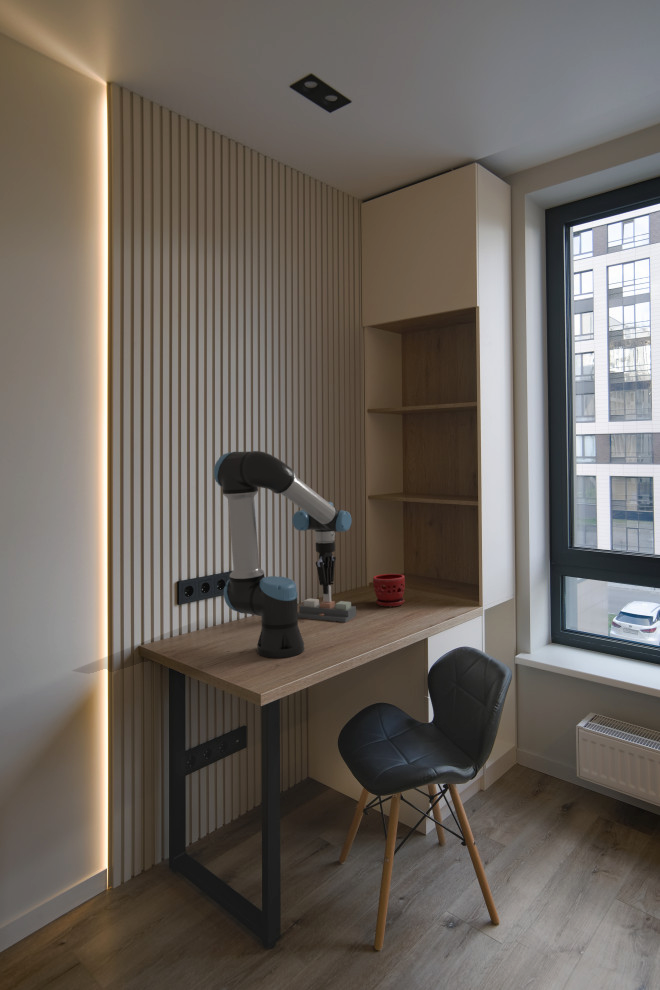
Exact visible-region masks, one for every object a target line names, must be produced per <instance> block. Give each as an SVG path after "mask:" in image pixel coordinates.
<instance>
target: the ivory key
mask: <svg viewBox="0 0 660 990" xmlns="http://www.w3.org/2000/svg"><path fill="white" fill-rule="evenodd" d="M319 603H320V600H319V598H318V599H317V598H307V599H305V600H303V604H304V606H308V607H316V606H318V605H319Z"/></svg>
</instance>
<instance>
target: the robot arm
mask: <svg viewBox="0 0 660 990" xmlns="http://www.w3.org/2000/svg"><path fill="white" fill-rule="evenodd" d="M213 477H214V480H215V482H216V483H217V485H218V486H219V487H221V489H222V495H223V496H224V497H225V498H227V503H228V516H229V517H228V518H229V528H230V542H231V543H230V544H231V553H232V554H231V555H232V564H233V570H232V571H231V572H230V573H229V579H228V580H227V581H226V582H225V584H226V585H225V586H224V588H223V598H224V602H225V603H226V605H227V606H228V608H229V609H230V610H232V611H235V612H238V613H240V614H247V615H253V616H257V617H258V616H260V617H261V630H260V632H259V633H260V634H259V637H258V641H257V645H256V651H257V652H256V653H257V654H258V655H260V656H262V657H264V658H271V659H274V658H275V659H281V658H282V659H283V658H290V657H295V656H298V655H300V654H301V653H303V652H305V642H304V639H303V637H302V633H301V631H300V628H299V624H298V621H299V618H298V613H299V611H298V591H297V584H296V582H295V581H294V580H292V579H291V578H289V577H285V576H275V575H273V576H272V575H271V576H266V577H265V571H264V570H263V569H262V568H261V567H260V560H259V546H258V534H257V533H258V532H257V520H256V518H257V517H256V508H255V507H256V505H255V497H256V495H257V494H258V492H259V488H261V489H266V490H268V491H269V490H270V491H271V492H273V493H274V494H277V495H279V494H281V495H282V496H283V497H285V498H286V499H288V500H289V501H290V502H291V503H293V504H295V506H297V507H298V508H300V509H301V510H299V511H295V512H294V514H293V515H292V517H291V518H292V519H291V521H292V526H293V527H294V529H295V530H297V531H300V532H303V531H304V532H306V531H309V530H310V531H315V532H314V537H315V539H314V540H315V542H316V543H315V551H316V553H317V554H318V561H315V565H316V569H317V576H318V581H319V582H318V583H319V585H320V586H322V596H323V597H322V600H323V601H322V602H331V601H332V586H331V585H334V580H335V565H336V564H335V563H336V559H337V558H336V556H334V555H333V553H334V552H335V551H336V542H335V536H336V533H335V532H338V533H339V532H340V533H341V532H347V531H349V530H350V528H351V525H352V516H351V513H350V512H349V511H346V510H343V509H341V510H338V509H337V508H336V507H334V503H333V502H331V501H327V500H326V499H324V497H322V496H321V495H319V494H318V493H317V492H316V491H315V490H313V489H312V488H311V487H310V486H308V485H307V484H306V483H305V482H303V480H301V479H300V478H299V477H298V476H296V474H295V471H294V470H293V469H292V468H291V467H290V466H289V465H288V464H286V463H285V462H283V461H282V460H280V459H279V458H277V457H275V456H274V455H273V454H270V453H268V452H265V451H259V450H253V451H252V450H251V451H231V452H226V453H224V454H222V455H221V456H220V457H219V458H218V459H217V460H216V462H215V464H214V468H213Z"/></svg>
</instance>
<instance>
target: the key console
mask: <svg viewBox="0 0 660 990" xmlns="http://www.w3.org/2000/svg"><path fill="white" fill-rule="evenodd" d="M320 603H321V602H319V605H318V606H316V607H308V606H304V603H303V604H302V605H301V604H300V606H298V610H299V611H298V619H306V618H309V620H316V619H319V621H326V620H329V621H328V622H336V621H338V622H337V623H345V622H346V623H347V622H349V621H350V619H351V620H352V619H354V618H355V616H356V617H357V607H356V606H355V605H353V606H352V605H351V608H350V609H348V610H340V609H336V604H335V606H334V607H332V608H331V609H329V608H320ZM353 617H354V618H353Z"/></svg>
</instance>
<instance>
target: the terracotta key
mask: <svg viewBox="0 0 660 990" xmlns="http://www.w3.org/2000/svg"><path fill="white" fill-rule="evenodd" d="M335 602H336V601H335V600H334V601H333V600H331V602H323V601H320V602H319V603H320V608H329V609H331V608H332V607H334V606H335V605H336V603H335Z"/></svg>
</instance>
